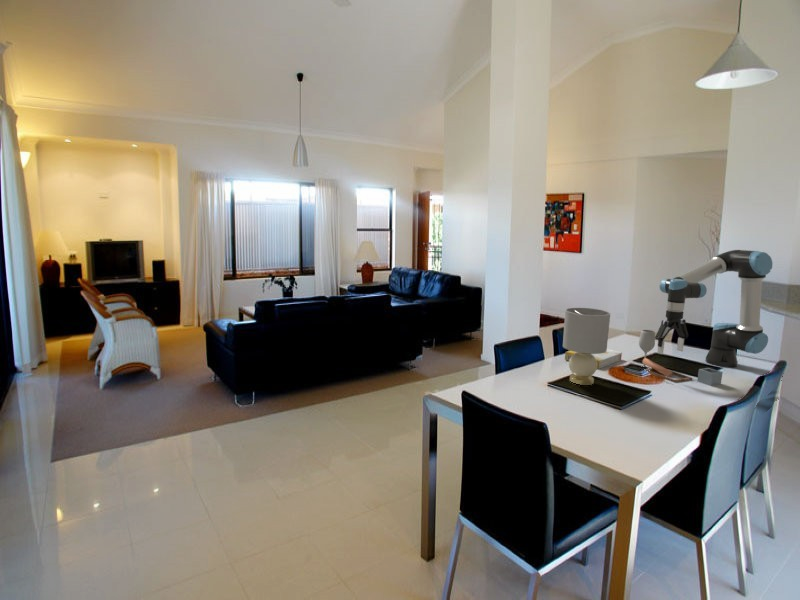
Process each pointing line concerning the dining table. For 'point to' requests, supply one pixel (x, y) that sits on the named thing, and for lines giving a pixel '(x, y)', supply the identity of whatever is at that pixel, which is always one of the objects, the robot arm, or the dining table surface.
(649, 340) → the wineglass
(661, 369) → the tan rounded bar
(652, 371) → the tray
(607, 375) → the dining table surface
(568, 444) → the dining table surface
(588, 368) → the lamp
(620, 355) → the cereal box
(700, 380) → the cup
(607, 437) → the dining table surface
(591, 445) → the dining table surface
